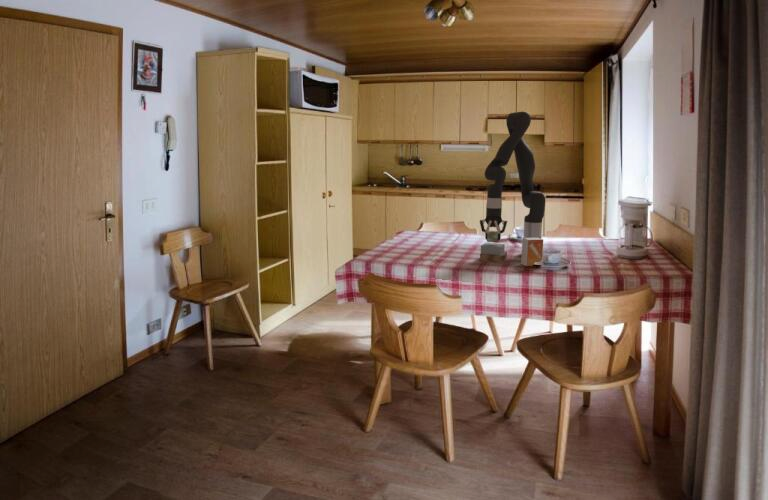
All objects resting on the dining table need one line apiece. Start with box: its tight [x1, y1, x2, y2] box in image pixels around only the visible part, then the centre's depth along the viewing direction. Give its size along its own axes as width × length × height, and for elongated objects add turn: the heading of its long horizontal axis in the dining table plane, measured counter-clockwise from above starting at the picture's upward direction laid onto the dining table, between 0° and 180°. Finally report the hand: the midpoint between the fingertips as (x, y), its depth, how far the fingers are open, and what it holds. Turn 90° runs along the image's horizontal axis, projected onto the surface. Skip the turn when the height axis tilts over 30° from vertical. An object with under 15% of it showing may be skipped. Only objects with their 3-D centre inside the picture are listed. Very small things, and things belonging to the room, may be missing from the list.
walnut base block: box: [479, 250, 508, 264], centre depth 306 cm, size 12×12×4 cm
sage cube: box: [486, 230, 499, 243], centre depth 304 cm, size 5×5×5 cm
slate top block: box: [480, 242, 506, 255], centre depth 306 cm, size 10×10×4 cm
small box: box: [520, 237, 544, 267], centre depth 293 cm, size 8×6×13 cm
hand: (492, 240), depth 305 cm, fingers closed on sage cube, 4 cm apart
